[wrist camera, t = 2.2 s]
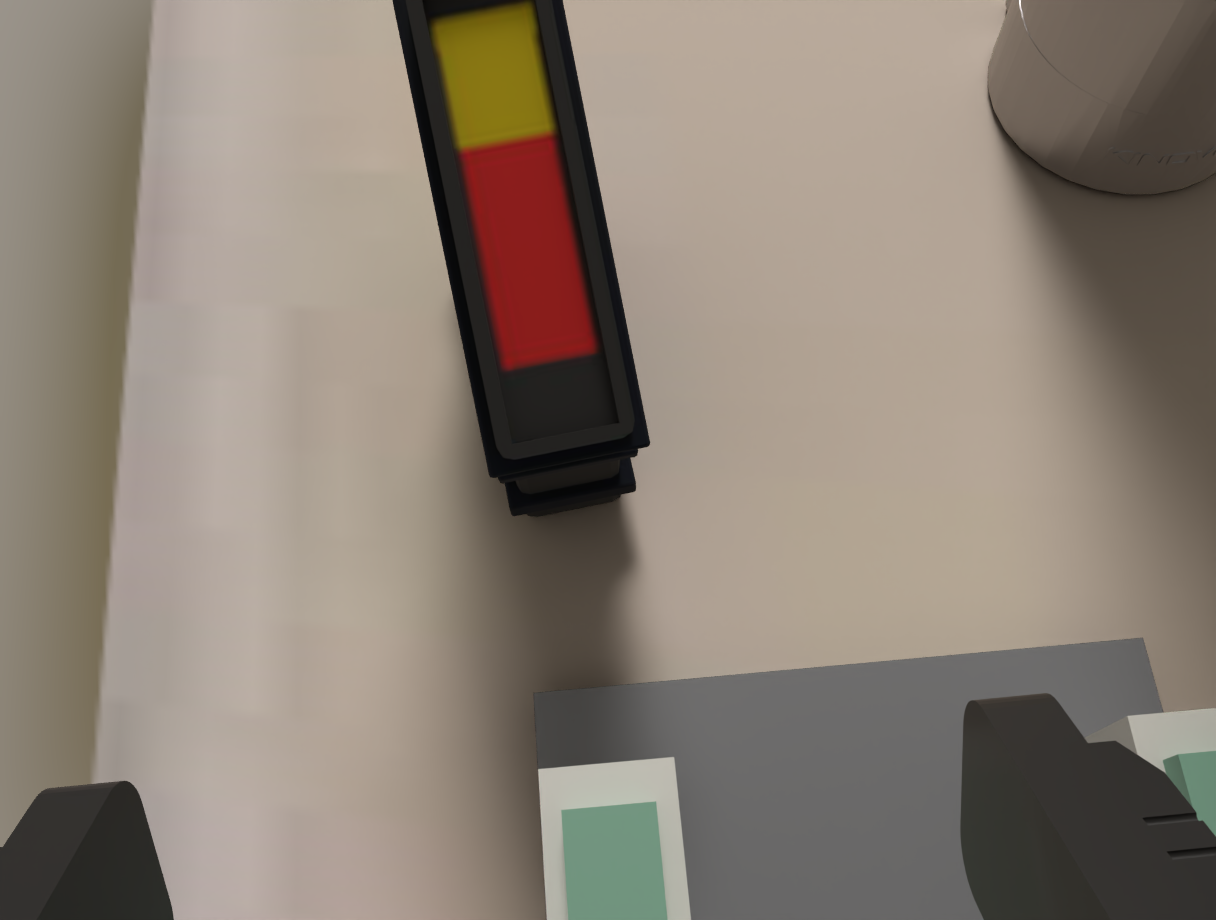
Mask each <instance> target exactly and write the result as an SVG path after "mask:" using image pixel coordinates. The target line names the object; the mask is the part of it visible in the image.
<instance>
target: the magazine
mask: <svg viewBox="0 0 1216 920" xmlns="http://www.w3.org/2000/svg"><path fill="white" fill-rule="evenodd" d="M393 5H394V10H395V15H396V20H397V25H398V30H399V35H400V40H401V45H402V49H403V54H404V59H405V64H406V69H407V74H408V79H409V84H410V89H411V94H412V98H413V103H414V108H415V113H416V118H417V123H418V128H419V133H420V138H421V143H422V148H423V152H424V157H425V162H426V167H427V172H428V177H429V182H430V187H431V192H432V197H433V202H434V206H435V211H436V216H437V221H438V226H439V231H440V236H441V241H442V246H443V251H444V256H445V260H446V265H447V270H448V275H449V280H450V285H451V290H452V295H453V300H454V305H455V310H456V314H457V319H458V324H459V329H460V334H461V339H462V344H463V349H464V354H465V359H466V364H467V368H468V373H469V378H470V383H471V388H472V393H473V398H474V403H475V408H476V413H477V418H478V422H479V427H480V432H481V437H482V442H483V447H484V452H485V457H486V462H487V467H488V472H489V475H490V477H492V478H495V477H498V479H499V481H500V482H501V483H505V487H506V492H507V497H508V502H509V508H510V511H511V514H512V516H517V515H522V514H528V516H535V517H538V516H543V515H548V514H553V513H558V512H563V511H567V510H572V509H577V508H582V507H587V506H592V505H597V504H602V503H607V502H612V501H614V500H616V499H618V498H619V497H620V495H621V494H626V493H630V492H634V491H636V481H635V477H634V472H633V468H632V463H631V459H630V458H631V457H635V456H637V453H638V449H639V448H644V447H648V446H649V445H650V440H649V435H648V430H647V425H646V420H645V415H644V410H643V405H642V400H641V395H640V390H639V385H638V379H637V374H636V369H635V364H634V359H633V354H632V349H631V344H630V339H629V334H628V329H627V324H626V319H625V314H624V309H623V304H622V299H621V293H620V288H619V283H618V278H617V273H616V268H615V263H614V258H613V253H612V248H611V243H610V238H609V233H608V228H607V223H606V218H605V213H604V208H603V202H602V197H601V192H600V187H599V182H598V177H597V172H596V167H595V162H594V157H593V152H592V147H591V142H590V137H589V132H588V127H587V122H586V117H585V111H584V106H583V101H582V96H581V91H580V86H579V81H578V76H577V71H576V66H575V61H574V56H573V51H572V46H571V41H570V36H569V31H568V25H567V20H566V15H565V10H564V5H563V0H393Z"/></svg>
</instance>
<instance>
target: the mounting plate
mask: <svg viewBox="0 0 1216 920" xmlns="http://www.w3.org/2000/svg"><path fill="white" fill-rule="evenodd" d="M1041 693H1048V694H1051V695H1052V696H1053V697H1055V699H1056V700H1057V701H1058V702H1059V704H1060V705H1061V706H1062V708H1063V709H1064V711H1065V712H1066V713H1067V715H1068V716H1069V717H1070V719H1071V720H1072V722H1073V723H1074V724H1075V726H1076V727H1077V728H1078V730H1079V731H1080V733H1081V734H1082V735H1083V737H1084V738H1085V740H1086V741H1087V742H1088V743H1095V742H1105V741H1117V742H1119V743H1120V744H1122V745H1123V746H1125V747H1126V748H1128V749H1129V750H1131V751H1132V752H1134V753H1136V754H1137V755H1139V756H1140V757H1142V758H1143V759H1145V760H1146V761H1148V762H1149V763H1151V764H1153V765H1154V766H1156V767H1157V768H1159V769H1160V770H1162V771H1163V772H1165V773H1166V775H1167V776H1168V777H1169V778H1170V780H1171V781H1172V782H1173V783H1174V785H1175V786H1176V787H1177V788H1178V790H1179V791H1180V792H1181V793H1182V795H1183V796H1184V797H1185V798H1186V800H1187V801H1188V802H1189V804H1190V805H1191V806H1192V807H1193V809H1194V810H1195V811H1196V812H1197V818H1198V820H1199V821H1201V820H1203V821H1204V822H1205V824H1206V825H1207V826H1208V827H1209V829H1210V830H1211V831H1212V832H1213V834H1214V835H1215V836H1216V708H1209V709H1198V710H1187V711H1176V712H1165V713H1163V709H1162V706H1161V702H1160V698H1159V695H1158V691H1157V687H1156V684H1155V680H1154V676H1153V673H1152V669H1151V666H1150V662H1149V658H1148V655H1147V651H1146V647H1145V644H1144V640H1143V638H1135V639H1124V640H1113V641H1102V642H1091V643H1080V644H1069V645H1058V646H1047V647H1036V648H1024V649H1013V650H1002V651H991V652H980V653H969V654H958V655H947V656H936V657H925V658H914V659H903V660H892V661H881V662H870V663H859V664H847V665H836V666H825V667H814V668H803V669H792V670H781V671H770V672H759V673H748V674H737V675H726V676H715V677H704V678H693V679H682V680H671V681H659V682H648V683H637V684H626V685H615V686H604V687H593V688H582V689H571V690H560V691H549V692H538V693H534V711H535V728H536V745H537V763H538V780H539V798H540V815H541V832H542V850H543V867H544V885H545V902H546V919H547V920H984V919H983V917H982V915H981V913H980V911H979V908H978V906H977V904H976V902H975V900H974V897H973V895H972V892H971V889H970V886H969V882H968V879H967V875H966V871H965V866H964V861H963V855H962V848H961V837H960V820H961V785H962V750H963V720H964V712H965V708H966V705H967V704H968V702H969V701H971V700H980V699H990V698H1000V697H1011V696H1021V695H1031V694H1041Z"/></svg>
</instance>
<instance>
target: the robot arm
mask: <svg viewBox="0 0 1216 920" xmlns="http://www.w3.org/2000/svg"><path fill="white" fill-rule="evenodd" d="M1006 8H1007V11H1008V12H1007V14H1006V17H1005V20H1004V22H1003V25H1002V28H1001V30H1000V33H999V36H998V38H997V41H996V44H995V46H994V49H993V53H992V56H991V59H990V63H989V66H988V90H989V94H990V98H991V102H992V105H993V109H994V111H995V113H996V115H997V117H998V119H999V120H1000V122H1001V124H1002V126H1003V128H1004V130H1005V131H1006V132H1007V133H1008V135H1009V136H1010V137H1011V138H1012V139H1013V140H1014V142H1015V143H1016V144H1017V145H1018V146H1019V147H1020V149H1021V150H1023V151H1024V152H1025V153H1026V154H1028V155H1029V156H1030V157H1031V158H1033V159H1034V160H1035V161H1036V162H1038V163H1039V164H1040V165H1041V166H1043V167H1045V168H1046V169H1048V170H1050V171H1052V172H1054V173H1056V174H1058V175H1059V176H1061V177H1063V178H1065V179H1067V180H1069V181H1072V182H1075V183H1078V184H1081V185H1084V186H1087V187H1090V188H1093V189H1096V190H1102V191H1108V192H1114V193H1120V194H1157V193H1162V192H1168V191H1173V190H1179V189H1182V188H1185V187H1187V186H1190V185H1192V184H1195V183H1198V182H1200V181H1203V180H1205V179H1207V178H1208V177H1209V176H1211V175H1212V174H1214V173H1215V172H1216V0H1006ZM960 837H961V848H962V855H963V861H964V866H965V871H966V875H967V879H968V882H969V886H970V889H971V892H972V895H973V897H974V900H975V902H976V904H977V906H978V908H979V911H980V913H981V915H982V917H983V919H984V920H1216V836H1215V835H1214V834H1213V832H1212V831H1211V830H1210V829H1209V827H1208V826H1207V825H1206V824H1205V822H1204V821H1203V820H1201V821H1199V820H1198V818H1197V812H1196V811H1195V810H1194V809H1193V807H1192V806H1191V805H1190V804H1189V802H1188V801H1187V800H1186V798H1185V797H1184V796H1183V795H1182V793H1181V792H1180V791H1179V790H1178V788H1177V787H1176V786H1175V785H1174V783H1173V782H1172V781H1171V780H1170V778H1169V777H1168V776H1167V775H1166V773H1165V772H1163V771H1162V770H1160V769H1159V768H1157V767H1156V766H1154V765H1153V764H1151V763H1149V762H1148V761H1146V760H1145V759H1143V758H1142V757H1140V756H1139V755H1137V754H1136V753H1134V752H1132V751H1131V750H1129V749H1128V748H1126V747H1125V746H1123V745H1122V744H1120V743H1119V742H1117V741H1105V742H1095V743H1088V742H1087V741H1086V740H1085V738H1084V737H1083V735H1082V734H1081V733H1080V731H1079V730H1078V728H1077V727H1076V726H1075V724H1074V723H1073V722H1072V720H1071V719H1070V717H1069V716H1068V715H1067V713H1066V712H1065V711H1064V709H1063V708H1062V706H1061V705H1060V704H1059V702H1058V701H1057V700H1056V699H1055V697H1053V696H1052V695H1051V694H1048V693H1041V694H1031V695H1021V696H1011V697H1000V698H990V699H980V700H971V701H969V702H968V704H967V705H966V708H965V712H964V720H963V750H962V785H961V820H960ZM0 920H174V919H173V911H172V906H171V902H170V899H169V895H168V892H167V888H166V885H165V881H164V878H163V874H162V871H161V867H160V864H159V860H158V857H157V853H156V850H155V846H154V843H153V839H152V836H151V832H150V829H149V825H148V822H147V818H146V815H145V811H144V808H143V804H142V801H141V798H140V795H139V793H138V791H137V789H136V788H135V787H134V785H132V784H131V783H130V782H128V781H119V782H109V783H98V784H88V785H78V786H69V787H58V788H49V789H45V790H44V791H42V792H41V793H40V794H38V796H37V797H36V799H35V800H34V801H33V803H32V804H31V806H30V807H29V809H28V810H27V811H26V813H25V814H24V816H23V817H22V819H21V820H20V822H19V823H18V825H17V826H16V828H15V830H14V831H13V832H12V834H11V835H10V837H9V838H8V840H7V842H6V843H5V845H4V846H3V847H0Z"/></svg>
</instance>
